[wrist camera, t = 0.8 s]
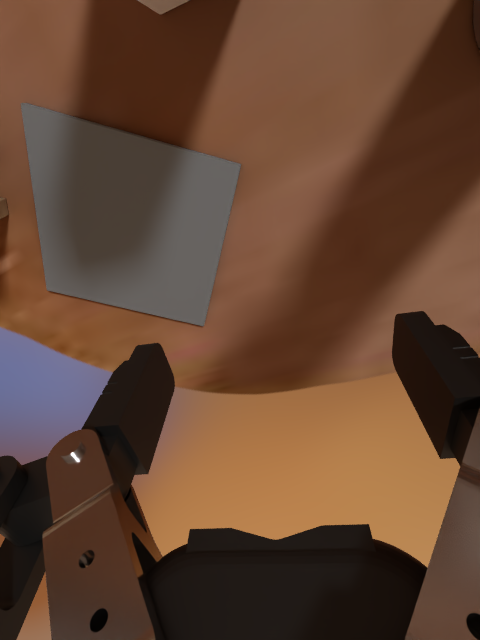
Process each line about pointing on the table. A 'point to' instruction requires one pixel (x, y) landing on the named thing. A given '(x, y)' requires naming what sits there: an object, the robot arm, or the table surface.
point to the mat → (127, 215)
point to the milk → (162, 4)
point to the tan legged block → (3, 208)
